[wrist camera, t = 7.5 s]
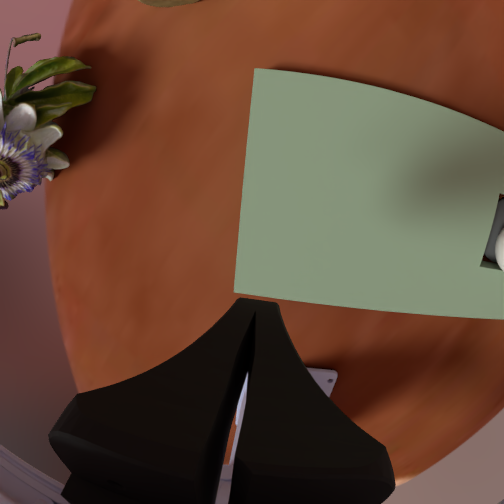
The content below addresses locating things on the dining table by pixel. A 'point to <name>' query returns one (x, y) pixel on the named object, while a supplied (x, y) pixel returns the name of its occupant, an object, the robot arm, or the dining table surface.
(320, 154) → the putting mat
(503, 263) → the ball
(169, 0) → the gavel
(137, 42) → the dining table surface
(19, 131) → the passion flower
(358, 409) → the dining table surface
